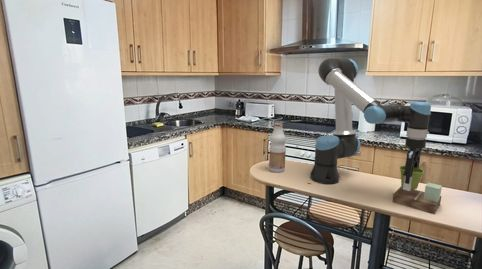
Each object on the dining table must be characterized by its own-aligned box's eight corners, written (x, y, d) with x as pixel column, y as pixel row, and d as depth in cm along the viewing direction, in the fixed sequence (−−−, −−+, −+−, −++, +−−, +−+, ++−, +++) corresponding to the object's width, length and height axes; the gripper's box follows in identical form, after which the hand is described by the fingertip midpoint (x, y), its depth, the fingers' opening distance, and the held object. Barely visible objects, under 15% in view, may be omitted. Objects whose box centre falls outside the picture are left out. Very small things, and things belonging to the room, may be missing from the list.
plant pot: (416, 184, 130) (419, 166, 128) (424, 192, 121) (427, 173, 119) (394, 182, 132) (396, 165, 130) (400, 190, 123) (403, 171, 121)
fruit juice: (272, 173, 162) (273, 125, 156) (266, 168, 170) (267, 122, 164) (287, 172, 164) (289, 124, 158) (281, 167, 173) (282, 122, 167)
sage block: (423, 198, 121) (425, 185, 120) (426, 195, 125) (428, 182, 123) (437, 202, 118) (439, 189, 116) (439, 198, 121) (441, 185, 120)
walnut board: (392, 201, 127) (393, 193, 126) (400, 193, 135) (401, 186, 134) (434, 214, 116) (436, 205, 115) (440, 204, 125) (441, 196, 124)
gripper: (420, 143, 112) (412, 196, 117) (431, 135, 127) (424, 182, 131) (399, 140, 117) (393, 191, 122) (412, 133, 132) (406, 178, 137)
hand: (409, 187), depth 127 cm, fingers closed on plant pot, 8 cm apart
